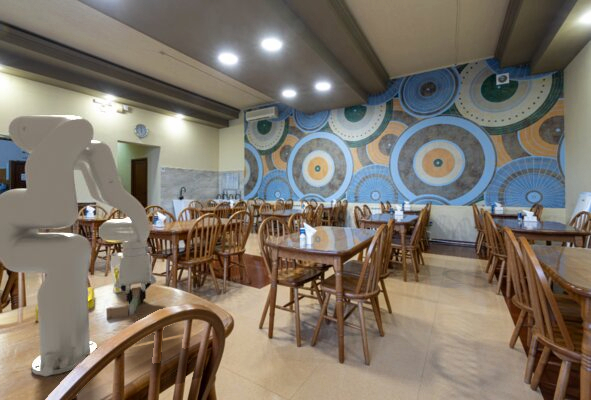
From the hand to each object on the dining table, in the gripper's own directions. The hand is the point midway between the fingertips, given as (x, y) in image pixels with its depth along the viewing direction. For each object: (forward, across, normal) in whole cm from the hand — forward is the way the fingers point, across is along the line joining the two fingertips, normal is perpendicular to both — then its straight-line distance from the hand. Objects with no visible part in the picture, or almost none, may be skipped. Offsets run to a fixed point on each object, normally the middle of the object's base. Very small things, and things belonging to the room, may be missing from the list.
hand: (136, 301), depth 101 cm
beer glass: (+2, +7, -18) cm, 19 cm away
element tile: (+2, +22, -6) cm, 23 cm away
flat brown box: (+1, -2, +6) cm, 7 cm away
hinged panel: (+1, 0, +3) cm, 3 cm away
